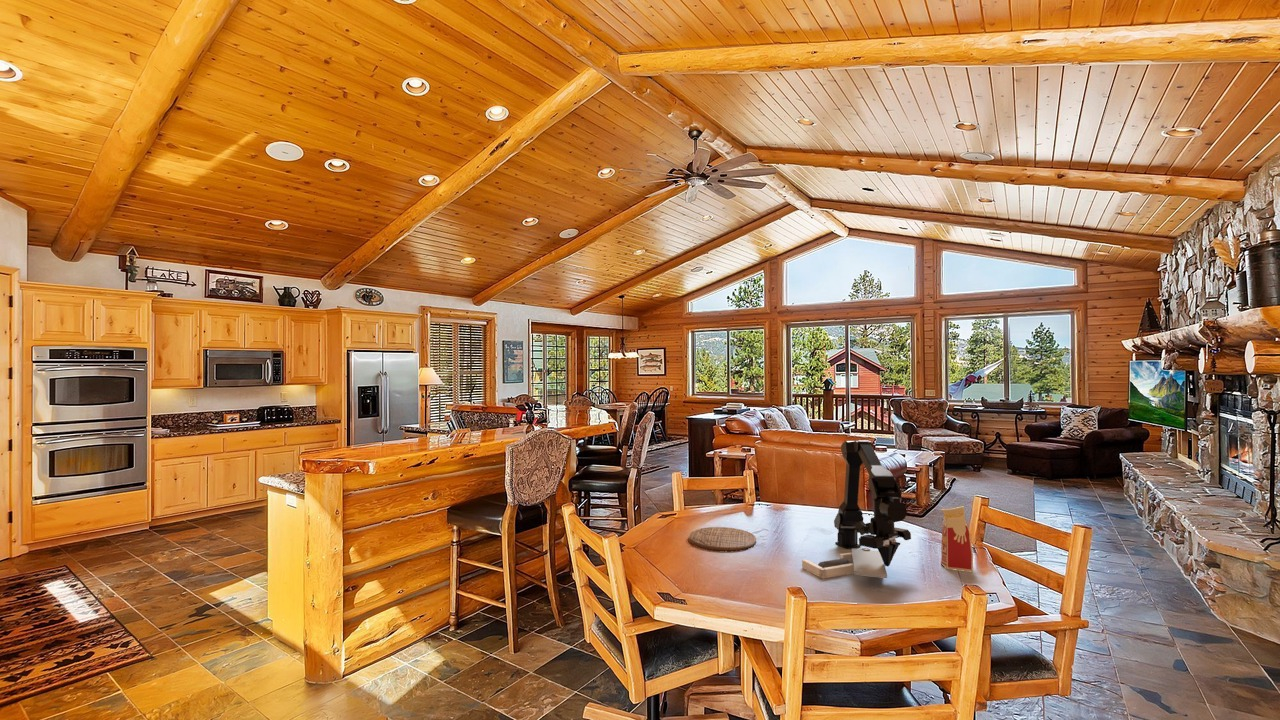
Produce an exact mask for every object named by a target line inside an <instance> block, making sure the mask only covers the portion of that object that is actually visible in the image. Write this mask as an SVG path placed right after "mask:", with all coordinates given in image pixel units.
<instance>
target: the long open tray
mask: <svg viewBox="0 0 1280 720" xmlns="http://www.w3.org/2000/svg"><path fill="white" fill-rule="evenodd" d="M842 558H846V559H848V560H849V562H850V564H844V565H838V566H832V567H826V568H822V567H820V566H818V564H816V563H814V562H812V561H810V560H809V559H801V567H802V569H804V570H805V571H807V572H809V573H811V574H812V575H815V576H817V577H818V578H821V579H822V580H823V579H828V578H835V577H840V576H845V575H851V574H854V567H853V559H852V551H850V552H844V553H840V554H839V559H842Z"/></svg>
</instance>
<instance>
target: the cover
mask: <svg viewBox="0 0 1280 720" xmlns="http://www.w3.org/2000/svg"><path fill="white" fill-rule="evenodd" d="M851 552H852V559H853V562H852V563H853V567H854V573H853V575H854V576H862V577H863V576H865V577H872V578H881V579H888V574H887V570H886V566H885V565H884V562H883V560H882V557H881V555H880V553H879V551H878V550H871V548H869V547H863V548H861V549H860V548H859V549H858V548H851Z"/></svg>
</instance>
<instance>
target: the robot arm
mask: <svg viewBox="0 0 1280 720" xmlns="http://www.w3.org/2000/svg"><path fill="white" fill-rule="evenodd" d="M840 451H841V456H842V458H843V460H844V462H845V463H846V464H845V477H844V478H845V479H844V480H845V481H844V492H843V493H844V498H843V501H842V502H841V504H840V505H839V506H838V509H837V510H838V511H837V514H836V516H835V518H834V520H833V525H834V528H835V529H837V531H838V532H837V541H836V542H834V544H835V545H838V546H839V547H842V548H844V549H848V550H849V549H856V548H860V546H861V547H864V548H868V549H874V550H875V549H876V550H877V551H879V553H880V555H881V557H882V560H883V562H884V565H885V567H889V566H890V565H891V562H892V561H893V558H894V556H895V554H896V551H897V550H898V548H899V547H900V545H901V542H898V541H897V539H898V538H902V539H903V540H904V541H909V540H911V539H912V535H911V531H909V529H905V528H901V527H895V523H897V522H898V523H899V522H903V521H904V520H905V519H906V518H907V515H908V509H907V507H906V506H905V504H904V503H902V502H901V501H900V499H902V490H901V488H900V486H899V483H898V482H897V479H896V478H895V476H894V475H893V473H892V472H891V471H890V470H888V469H886V468H885V467H884V466H883V465H882V463H881V461H880V459H879V457H878V455H877V453H876V451H875V450H874V448H873V443H872V441H871V440H868V439H862V440H861V439H857V440H844V442H842V443H841V446H840ZM862 465H864V467H865V470H866V471H867V474H868V478H867V479H868V480H867V486H868V488H869V490H870V492H871V498H872V504H873V505H872V506H873V507H872V508H873V517H871V518H870V519H869V520H870V522H867V523H865V522H864V516H863V515H864V513H863V511H862V510H861V508H860V506H859V494H860V493H859V491H860V488H859V487H860V478H861V467H862ZM858 534H860V537H859V538H858V536H859V535H858Z"/></svg>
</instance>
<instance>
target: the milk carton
mask: <svg viewBox="0 0 1280 720" xmlns="http://www.w3.org/2000/svg"><path fill="white" fill-rule="evenodd" d="M940 511H941V512H942V514H943V520H942V521H943V522H942V527H941V528H942V530H941V548H940V550H941V551H940V552H941V560H940V565H941V564H942V565H943V566H944V567H943V566H942V565H941V566H942V567H943V568H945V567H946V568H947V569H946V568H945V569H946V570H950V569H956V570H955V571H960V570H964V571H963V572H967V571H971V572H970V573H973V572H974V553H973V544H972V537H971V533H970V529H969V526H968V524H967V520H966V516H965V505H963V506H958V507H954V508H943V509H940Z"/></svg>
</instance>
